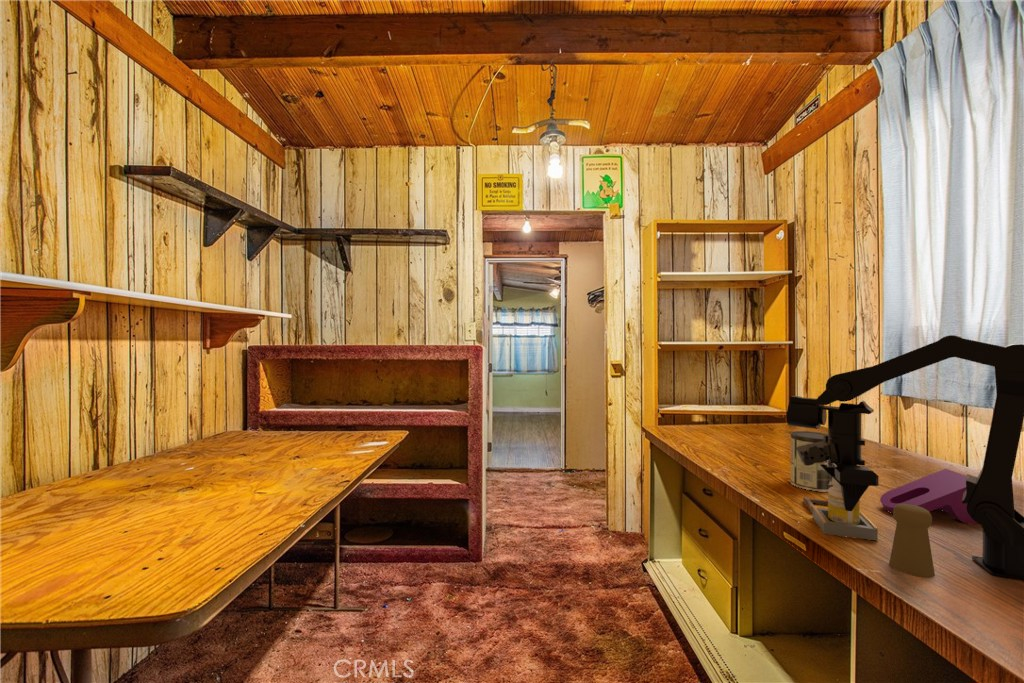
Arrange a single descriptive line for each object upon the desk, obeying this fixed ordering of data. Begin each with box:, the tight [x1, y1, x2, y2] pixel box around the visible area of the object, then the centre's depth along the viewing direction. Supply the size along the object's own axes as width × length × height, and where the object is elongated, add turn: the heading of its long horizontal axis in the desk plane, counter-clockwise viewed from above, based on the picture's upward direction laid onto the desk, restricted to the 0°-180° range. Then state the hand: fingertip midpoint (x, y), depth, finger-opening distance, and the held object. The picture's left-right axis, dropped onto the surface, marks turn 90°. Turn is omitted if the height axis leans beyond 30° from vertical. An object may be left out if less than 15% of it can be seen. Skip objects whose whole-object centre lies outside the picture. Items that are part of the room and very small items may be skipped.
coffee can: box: [790, 430, 833, 493], centre depth 123 cm, size 10×10×14 cm
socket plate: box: [812, 505, 879, 542], centre depth 95 cm, size 9×9×3 cm
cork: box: [888, 504, 936, 578], centre depth 79 cm, size 6×6×11 cm
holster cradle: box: [802, 496, 828, 514], centre depth 106 cm, size 8×8×2 cm
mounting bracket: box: [880, 468, 979, 525], centre depth 104 cm, size 10×8×18 cm
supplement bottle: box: [827, 476, 861, 525], centre depth 95 cm, size 5×5×10 cm
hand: (844, 505), depth 95 cm, fingers closed on supplement bottle, 5 cm apart
